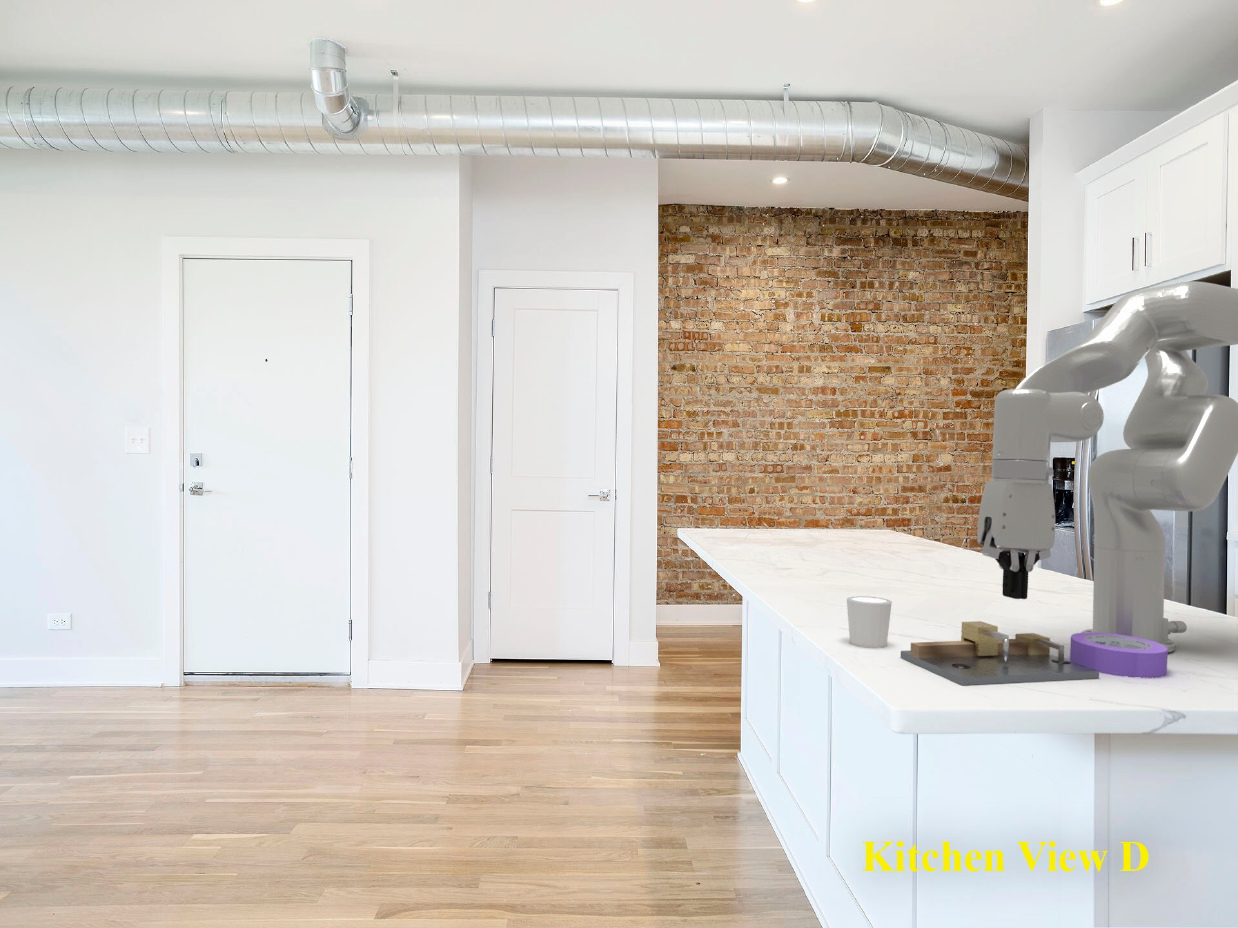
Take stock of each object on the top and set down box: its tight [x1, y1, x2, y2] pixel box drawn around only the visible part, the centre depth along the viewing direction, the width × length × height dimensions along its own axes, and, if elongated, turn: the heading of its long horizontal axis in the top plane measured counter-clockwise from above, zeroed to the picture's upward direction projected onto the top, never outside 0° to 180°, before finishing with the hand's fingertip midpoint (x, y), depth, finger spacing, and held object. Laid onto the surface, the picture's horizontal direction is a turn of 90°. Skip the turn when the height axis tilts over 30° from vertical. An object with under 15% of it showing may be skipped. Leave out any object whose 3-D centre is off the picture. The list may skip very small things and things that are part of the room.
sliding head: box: [960, 620, 1010, 661], centre depth 109 cm, size 3×8×4 cm, turn 12°
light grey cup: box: [846, 595, 893, 649], centre depth 121 cm, size 7×7×7 cm
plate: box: [900, 649, 1100, 686], centre depth 108 cm, size 21×14×1 cm, turn 102°
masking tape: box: [1069, 632, 1169, 679], centre depth 109 cm, size 12×12×4 cm
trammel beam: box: [910, 632, 1065, 661], centre depth 109 cm, size 21×7×2 cm, turn 102°
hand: (1014, 597), depth 112 cm, fingers closed
